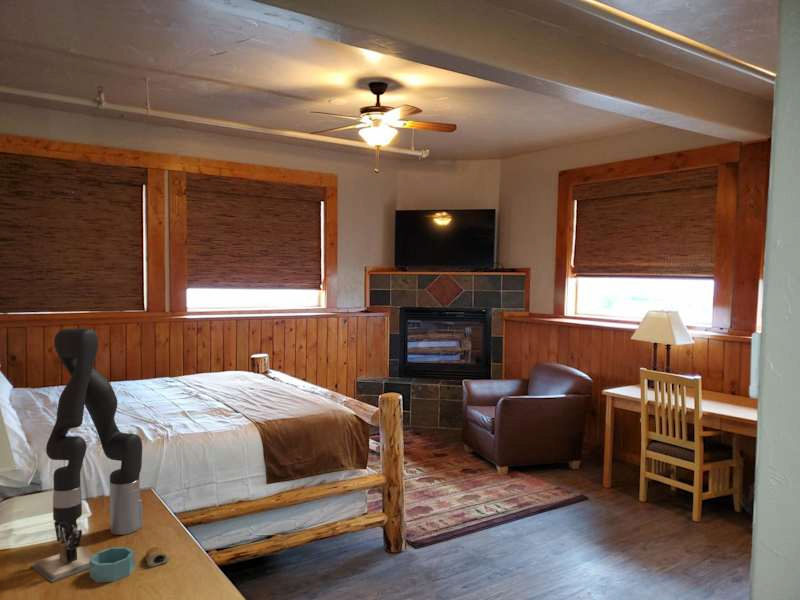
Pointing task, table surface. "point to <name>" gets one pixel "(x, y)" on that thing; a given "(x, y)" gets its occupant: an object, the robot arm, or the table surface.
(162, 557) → the pastry
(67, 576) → the mat
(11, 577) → the table surface
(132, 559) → the bowl
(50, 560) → the lid
